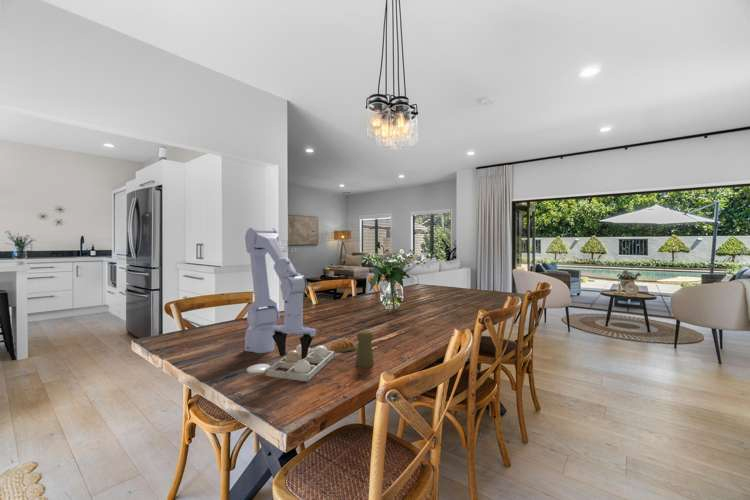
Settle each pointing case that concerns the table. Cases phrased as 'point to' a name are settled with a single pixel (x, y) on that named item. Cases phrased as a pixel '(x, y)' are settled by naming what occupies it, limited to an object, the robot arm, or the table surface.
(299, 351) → the white egg
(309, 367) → the white egg
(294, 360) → the brown egg
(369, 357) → the olive green pepper mill
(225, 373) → the table surface
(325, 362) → the egg carton
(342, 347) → the pastry
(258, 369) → the saucer
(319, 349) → the white egg
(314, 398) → the table surface
